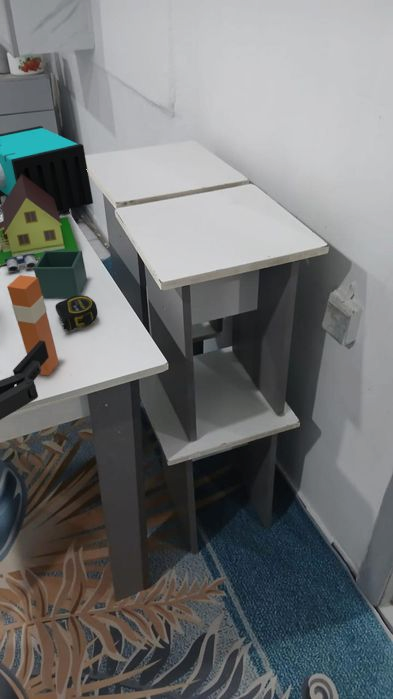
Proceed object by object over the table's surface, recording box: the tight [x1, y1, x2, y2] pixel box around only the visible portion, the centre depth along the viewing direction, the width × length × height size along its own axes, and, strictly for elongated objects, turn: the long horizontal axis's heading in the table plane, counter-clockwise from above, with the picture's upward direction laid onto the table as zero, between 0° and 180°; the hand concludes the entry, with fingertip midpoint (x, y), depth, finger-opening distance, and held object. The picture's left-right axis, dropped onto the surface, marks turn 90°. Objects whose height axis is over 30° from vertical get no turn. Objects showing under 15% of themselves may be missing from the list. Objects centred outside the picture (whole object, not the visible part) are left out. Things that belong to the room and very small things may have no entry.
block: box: [6, 274, 60, 377], centre depth 82 cm, size 3×4×16 cm
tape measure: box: [54, 295, 99, 332], centre depth 96 cm, size 7×7×4 cm
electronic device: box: [0, 125, 94, 213], centre depth 137 cm, size 25×25×15 cm
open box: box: [33, 250, 88, 299], centre depth 105 cm, size 8×7×6 cm
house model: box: [0, 173, 80, 266], centre depth 120 cm, size 18×20×13 cm
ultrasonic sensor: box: [5, 253, 37, 273], centre depth 113 cm, size 6×2×3 cm, turn 108°
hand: (1, 341), depth 75 cm, fingers open, 13 cm apart
